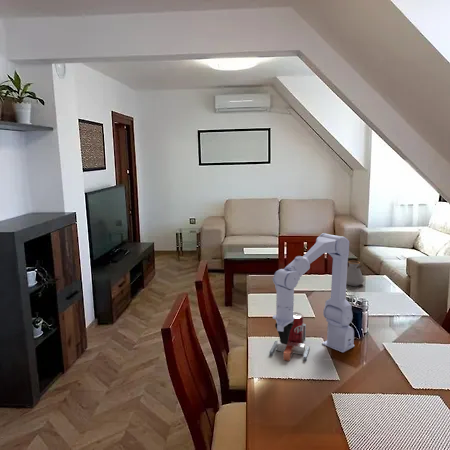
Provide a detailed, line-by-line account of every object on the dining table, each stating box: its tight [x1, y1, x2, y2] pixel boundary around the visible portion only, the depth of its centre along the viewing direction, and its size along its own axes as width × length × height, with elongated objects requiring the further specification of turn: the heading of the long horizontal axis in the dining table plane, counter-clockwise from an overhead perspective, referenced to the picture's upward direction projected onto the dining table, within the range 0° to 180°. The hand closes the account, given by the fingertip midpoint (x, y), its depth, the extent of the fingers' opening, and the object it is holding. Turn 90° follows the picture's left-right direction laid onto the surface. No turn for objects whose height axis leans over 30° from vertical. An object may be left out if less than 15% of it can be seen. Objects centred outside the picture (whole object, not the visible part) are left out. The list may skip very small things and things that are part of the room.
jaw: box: [276, 339, 306, 362], centre depth 150 cm, size 9×10×3 cm
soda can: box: [288, 311, 304, 344], centre depth 157 cm, size 7×7×12 cm
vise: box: [269, 323, 311, 362], centre depth 156 cm, size 18×13×6 cm
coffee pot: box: [346, 260, 365, 287], centre depth 225 cm, size 21×12×15 cm, turn 175°
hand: (284, 342), depth 140 cm, fingers closed
